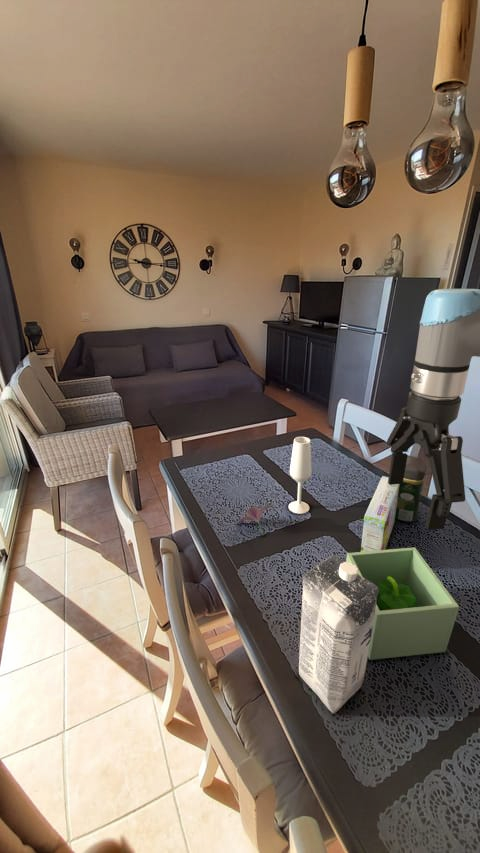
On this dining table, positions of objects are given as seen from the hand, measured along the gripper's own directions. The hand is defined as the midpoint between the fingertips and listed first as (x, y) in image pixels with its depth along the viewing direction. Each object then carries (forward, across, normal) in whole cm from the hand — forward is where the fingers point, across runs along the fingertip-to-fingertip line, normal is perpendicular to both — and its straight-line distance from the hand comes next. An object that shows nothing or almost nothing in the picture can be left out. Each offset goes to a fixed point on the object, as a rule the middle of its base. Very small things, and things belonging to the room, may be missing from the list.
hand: (412, 503), depth 66 cm
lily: (+31, -34, -25) cm, 52 cm away
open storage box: (+31, 0, 0) cm, 31 cm away
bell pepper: (+30, 0, 0) cm, 30 cm away
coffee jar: (+31, -35, +21) cm, 51 cm away
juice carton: (+31, +11, -17) cm, 37 cm away
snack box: (+31, -24, +8) cm, 40 cm away
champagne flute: (+31, -42, -10) cm, 53 cm away
